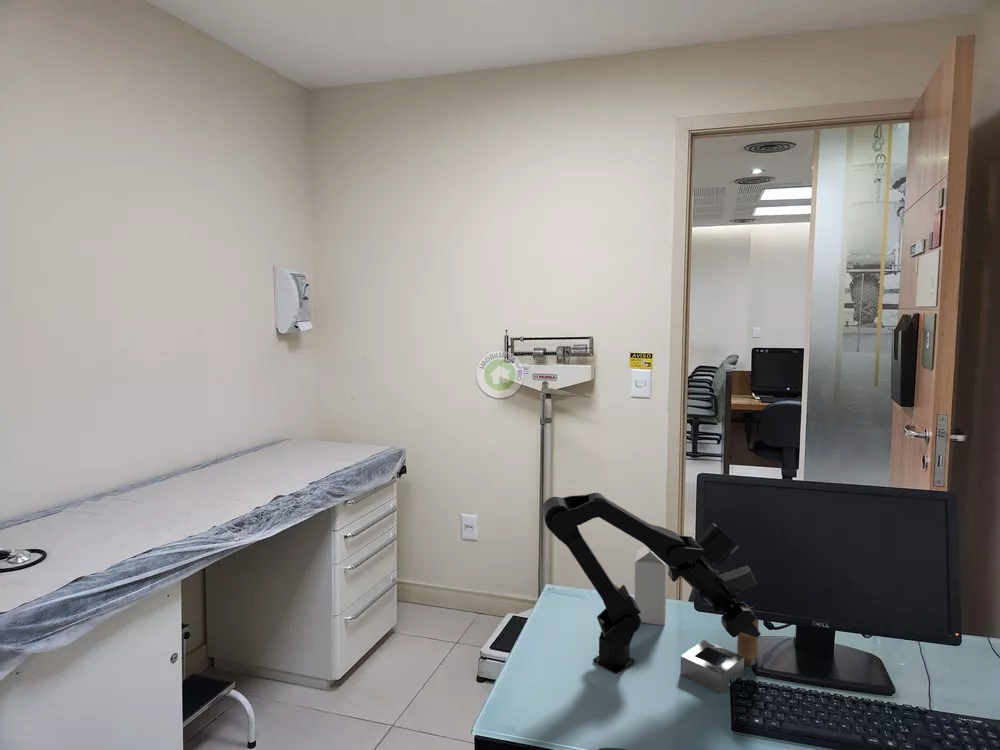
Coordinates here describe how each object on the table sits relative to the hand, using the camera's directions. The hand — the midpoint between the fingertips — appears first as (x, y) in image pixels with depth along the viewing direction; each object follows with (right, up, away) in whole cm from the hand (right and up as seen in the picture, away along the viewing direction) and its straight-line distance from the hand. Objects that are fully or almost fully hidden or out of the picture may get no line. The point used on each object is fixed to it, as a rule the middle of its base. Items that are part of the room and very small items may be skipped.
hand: (754, 629), depth 133 cm
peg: (-1, -7, +1) cm, 7 cm away
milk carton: (-17, -5, +20) cm, 27 cm away
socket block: (-10, -8, -4) cm, 14 cm away
